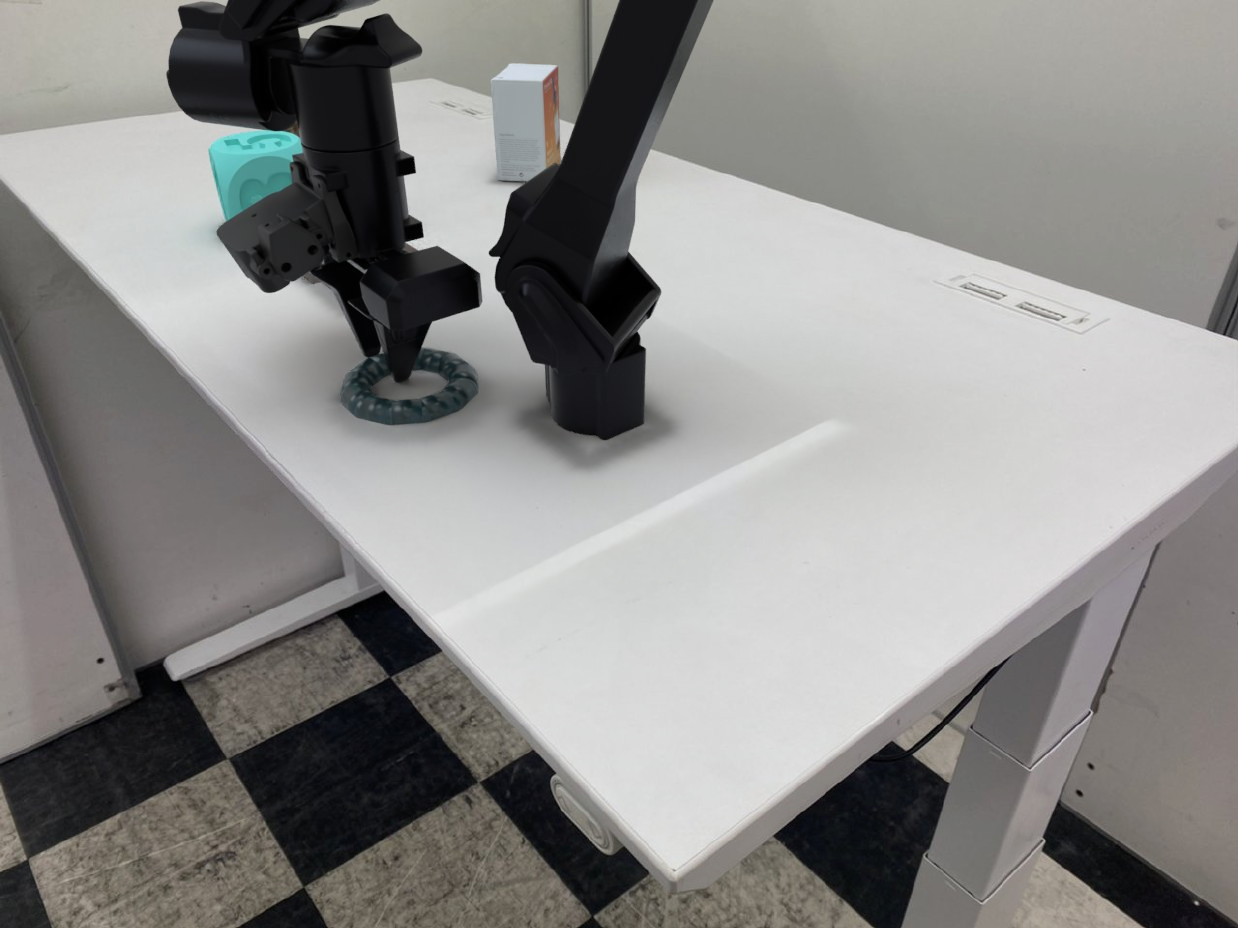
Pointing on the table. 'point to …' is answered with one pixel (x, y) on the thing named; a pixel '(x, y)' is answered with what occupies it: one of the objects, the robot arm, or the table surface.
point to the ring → (409, 411)
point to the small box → (526, 120)
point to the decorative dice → (251, 167)
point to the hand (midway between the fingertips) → (386, 367)
